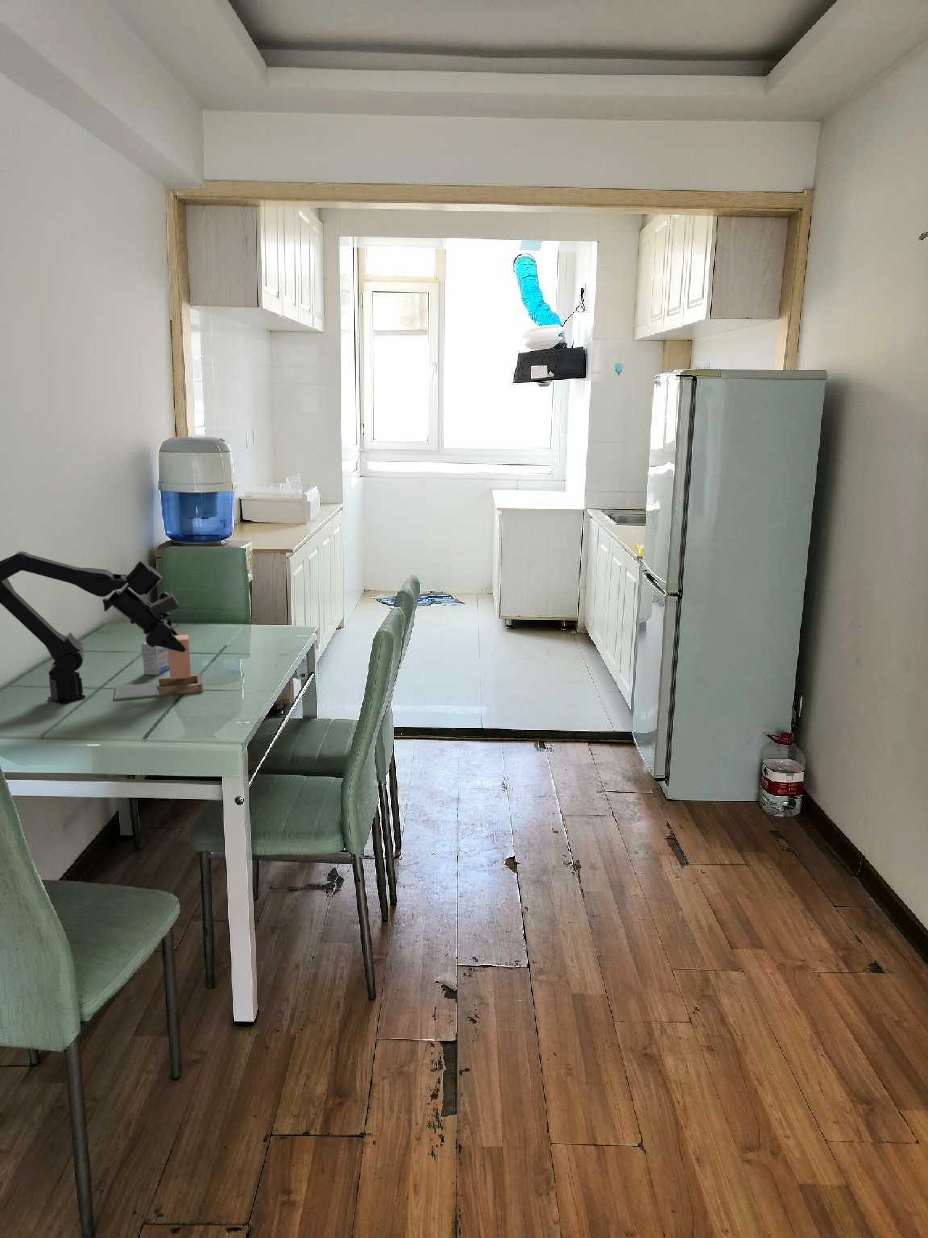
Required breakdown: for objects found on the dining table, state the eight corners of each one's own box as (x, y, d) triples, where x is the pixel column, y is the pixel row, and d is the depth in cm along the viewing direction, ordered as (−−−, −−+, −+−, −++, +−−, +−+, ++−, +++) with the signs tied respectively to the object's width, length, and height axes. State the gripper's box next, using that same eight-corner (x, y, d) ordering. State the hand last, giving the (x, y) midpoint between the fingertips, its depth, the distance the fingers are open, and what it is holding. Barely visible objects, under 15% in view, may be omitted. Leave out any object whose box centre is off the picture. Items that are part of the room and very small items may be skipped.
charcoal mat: (113, 700, 228) (113, 698, 228) (116, 688, 238) (115, 686, 237) (156, 696, 231) (156, 694, 231) (157, 684, 240) (157, 683, 240)
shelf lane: (159, 695, 232) (158, 688, 231) (159, 685, 240) (158, 677, 240) (202, 691, 235) (202, 684, 234) (201, 681, 243) (200, 674, 243)
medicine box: (158, 675, 248) (156, 644, 246) (143, 674, 249) (140, 643, 247) (173, 667, 256) (171, 636, 254) (158, 666, 257) (156, 636, 255)
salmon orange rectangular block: (170, 679, 234) (167, 640, 231) (170, 673, 238) (167, 635, 236) (191, 677, 235) (188, 639, 233) (190, 672, 240) (187, 634, 237)
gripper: (156, 592, 221) (207, 633, 227) (157, 577, 239) (204, 616, 244) (124, 626, 221) (176, 667, 227) (127, 609, 238) (175, 647, 244)
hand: (184, 648), depth 235 cm, fingers closed on salmon orange rectangular block, 5 cm apart
